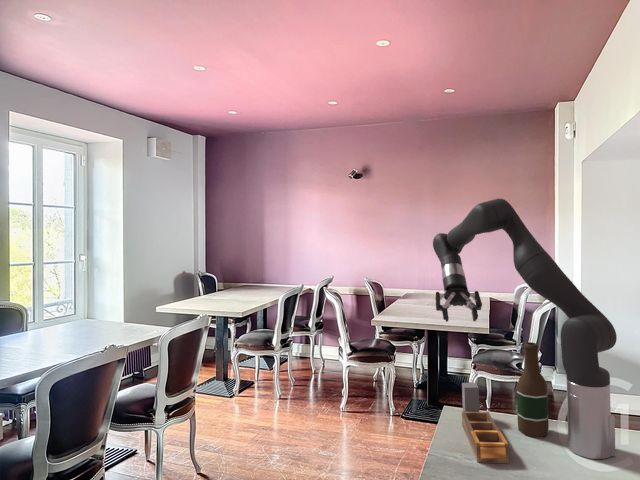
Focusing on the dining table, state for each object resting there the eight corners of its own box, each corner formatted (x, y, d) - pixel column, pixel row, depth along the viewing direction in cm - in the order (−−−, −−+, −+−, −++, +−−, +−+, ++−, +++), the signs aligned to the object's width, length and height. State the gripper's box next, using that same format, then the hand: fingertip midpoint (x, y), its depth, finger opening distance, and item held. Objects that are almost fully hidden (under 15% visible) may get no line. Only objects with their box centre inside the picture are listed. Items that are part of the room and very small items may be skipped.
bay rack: (488, 426, 129) (488, 410, 129) (509, 464, 109) (508, 445, 108) (462, 425, 130) (461, 409, 130) (477, 463, 109) (477, 444, 109)
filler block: (476, 414, 137) (475, 382, 137) (479, 420, 133) (478, 387, 133) (462, 414, 138) (461, 382, 137) (465, 419, 134) (464, 387, 133)
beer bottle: (553, 439, 120) (550, 347, 119) (521, 437, 122) (518, 347, 121) (544, 426, 128) (542, 340, 127) (514, 424, 129) (512, 339, 128)
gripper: (433, 273, 155) (438, 313, 144) (477, 272, 153) (486, 313, 142) (432, 286, 161) (437, 326, 150) (474, 285, 159) (482, 326, 148)
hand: (461, 320), depth 146 cm, fingers open, 8 cm apart
